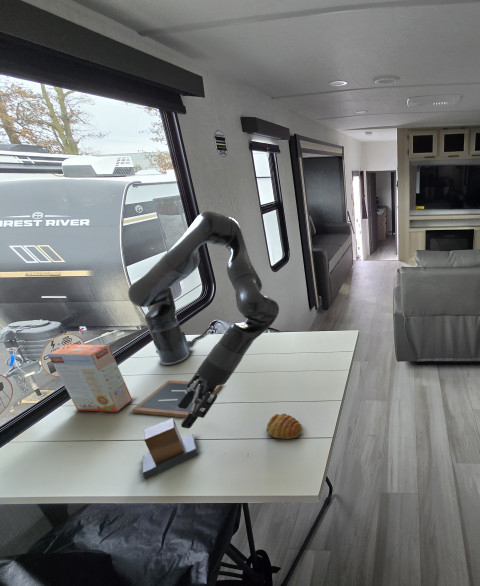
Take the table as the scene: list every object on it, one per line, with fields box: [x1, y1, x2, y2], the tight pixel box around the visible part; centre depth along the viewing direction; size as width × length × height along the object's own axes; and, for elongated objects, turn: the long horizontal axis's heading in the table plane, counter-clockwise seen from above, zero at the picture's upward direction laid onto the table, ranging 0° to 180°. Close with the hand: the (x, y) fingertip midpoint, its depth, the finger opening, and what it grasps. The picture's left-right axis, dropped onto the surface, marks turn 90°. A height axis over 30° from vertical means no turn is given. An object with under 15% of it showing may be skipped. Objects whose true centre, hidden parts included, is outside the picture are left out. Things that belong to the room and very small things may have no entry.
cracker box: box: [47, 343, 133, 413], centre depth 94 cm, size 14×6×21 cm, turn 84°
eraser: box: [142, 417, 198, 480], centre depth 77 cm, size 6×11×10 cm, turn 127°
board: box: [131, 380, 223, 418], centre depth 99 cm, size 14×20×1 cm
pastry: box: [266, 413, 303, 440], centre depth 85 cm, size 9×7×4 cm
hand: (183, 416), depth 78 cm, fingers open, 8 cm apart
